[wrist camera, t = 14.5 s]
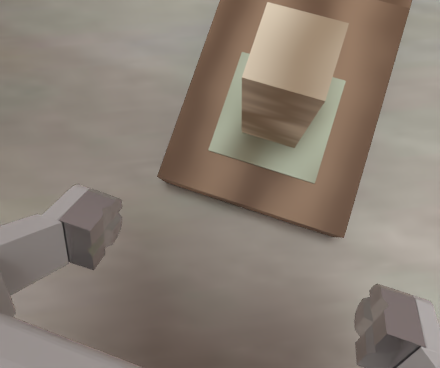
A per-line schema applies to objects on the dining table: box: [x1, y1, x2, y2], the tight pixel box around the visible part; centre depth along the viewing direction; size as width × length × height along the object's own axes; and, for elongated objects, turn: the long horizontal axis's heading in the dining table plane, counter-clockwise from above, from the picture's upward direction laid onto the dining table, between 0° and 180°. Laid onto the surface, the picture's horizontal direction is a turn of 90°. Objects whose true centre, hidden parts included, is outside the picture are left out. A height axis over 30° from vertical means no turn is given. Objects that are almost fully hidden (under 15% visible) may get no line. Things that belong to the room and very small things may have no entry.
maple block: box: [242, 2, 349, 148], centre depth 20 cm, size 4×4×9 cm
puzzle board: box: [157, 0, 412, 238], centre depth 27 cm, size 14×30×3 cm, turn 162°
